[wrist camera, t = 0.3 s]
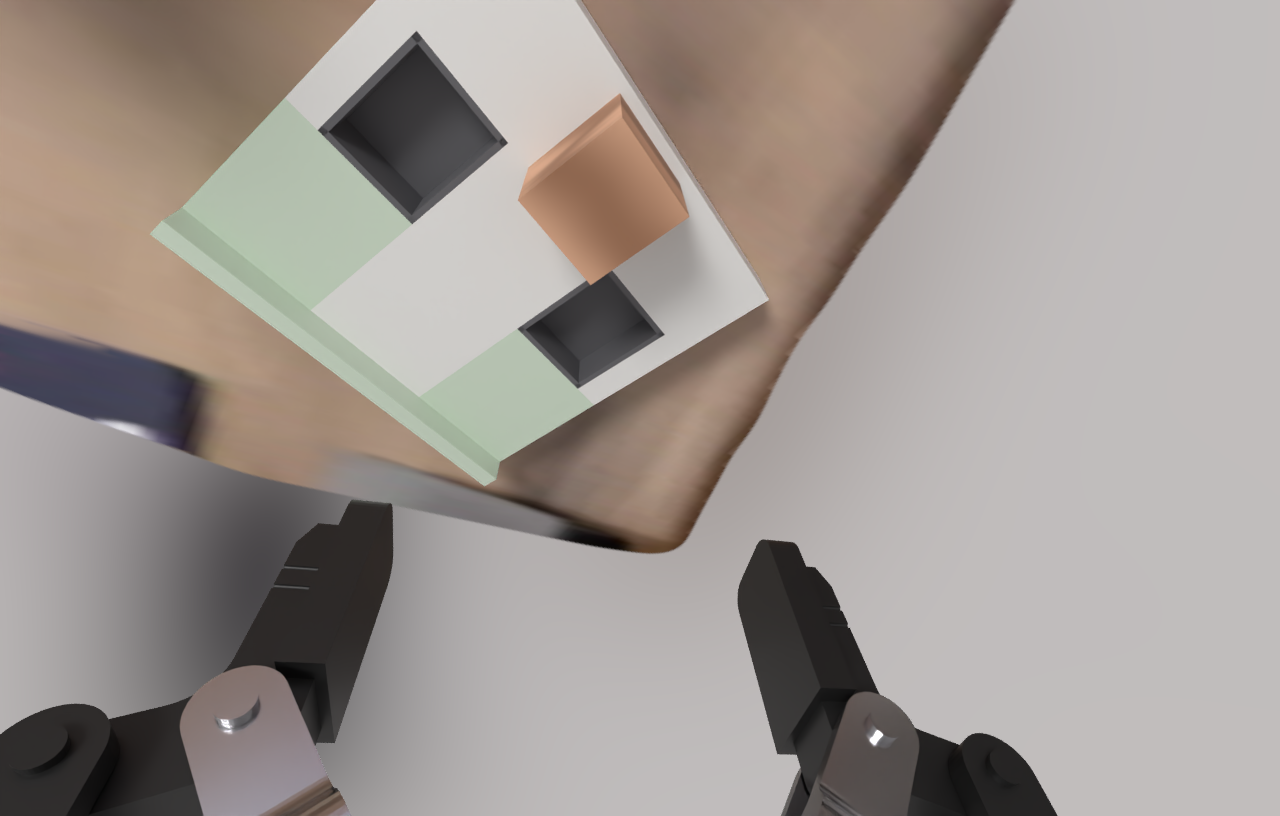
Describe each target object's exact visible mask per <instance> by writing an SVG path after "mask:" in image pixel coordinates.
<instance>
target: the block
mask: <svg viewBox="0 0 1280 816" xmlns="http://www.w3.org/2000/svg"><path fill="white" fill-rule="evenodd" d="M518 201H519V202H520V203H521V205H522V206H523V207H524V208H525V209H526V210H527V212H528V213H529V214H530V215H531V216H532V217H533V219H534V220H535V221H536V222H537V223H538V224H539V226H540V227H541V228H542V229H543V230H544V231H545V233H546V234H547V235H548V236H549V237H550V238H551V240H552V241H553V242H554V243H555V244H556V245H557V247H558V248H559V249H560V250H561V251H562V252H563V254H564V255H565V256H566V257H567V258H568V259H569V261H570V262H571V263H572V264H573V265H574V266H575V268H576V269H577V270H578V271H579V272H580V273H581V275H582V276H583V277H584V278H585V279H586V280H587V281H588V283H589V284H590V285H592V284H593V283H595V282H596V281H597V280H599V279H600V278H602V277H603V276H605V275H606V274H608V273H609V272H610V271H612V270H613V269H615V268H616V267H618V266H619V265H621V264H622V263H623V262H625V261H626V260H628V259H629V258H631V257H632V256H634V255H635V254H636V253H638V252H639V251H641V250H642V249H644V248H645V247H647V246H648V245H650V244H651V243H652V242H654V241H655V240H657V239H658V238H660V237H661V236H663V235H664V234H665V233H667V232H668V231H670V230H671V229H673V228H674V227H676V226H677V225H678V224H680V223H681V222H683V221H684V220H686V219H687V218H689V213H688V210H687V206H686V203H685V200H684V196H683V193H682V189H681V186H680V183H679V181H678V180H677V178H676V177H675V175H674V174H673V172H672V171H671V169H670V168H669V166H668V165H667V163H666V162H665V160H664V159H663V157H662V156H661V154H660V153H659V151H658V150H657V148H656V147H655V145H654V144H653V142H652V141H651V139H650V137H649V136H648V134H647V133H646V131H645V130H644V128H643V127H642V125H641V124H640V122H639V121H638V119H637V118H636V116H635V115H634V113H633V112H632V110H631V109H630V107H629V106H628V104H627V103H626V101H625V100H624V98H623V97H622V95H621V94H620V93H619V94H618V95H617V96H615V97H614V98H613V99H612V100H611V101H609V102H608V103H607V104H606V105H604V106H603V107H602V108H601V109H600V110H598V111H597V112H596V113H595V114H593V115H592V116H591V117H590V118H588V119H587V120H586V121H585V122H584V123H582V124H581V125H580V126H579V127H577V128H576V129H575V130H574V131H573V132H571V133H570V134H569V135H568V136H566V137H565V138H564V139H563V140H561V141H560V142H559V143H558V144H557V145H555V146H554V147H553V148H552V149H550V150H549V151H548V152H547V153H545V154H544V155H543V156H542V157H541V158H539V159H538V160H537V161H536V162H534V163H533V164H532V165H531V166H530V167H528V170H527V173H526V176H525V179H524V182H523V185H522V189H521V192H520V195H519V198H518Z"/></svg>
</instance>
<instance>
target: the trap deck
mask: <svg viewBox="0 0 1280 816" xmlns="http://www.w3.org/2000/svg"><path fill="white" fill-rule="evenodd" d="M619 93H620V94H621V95H622V97H623V98H624V100H625V101H626V103H627V104H628V106H629V107H630V109H631V110H632V112H633V113H634V115H635V116H636V118H637V119H638V121H639V122H640V124H641V125H642V127H643V128H644V130H645V131H646V133H647V134H648V136H649V137H650V139H651V141H652V142H653V144H654V145H655V147H656V148H657V150H658V151H659V153H660V154H661V156H662V157H663V159H664V160H665V162H666V163H667V165H668V166H669V168H670V169H671V171H672V172H673V174H674V175H675V177H676V178H677V180H678V181H679V183H680V186H681V189H682V193H683V196H684V200H685V203H686V206H687V210H688V213H689V218H687V219H686V220H684V221H683V222H681V223H680V224H678V225H677V226H676V227H674V228H673V229H671V230H670V231H668V232H667V233H665V234H664V235H663V236H661V237H660V238H658V239H657V240H655V241H654V242H652V243H651V244H650V245H648V246H647V247H645V248H644V249H642V250H641V251H639V252H638V253H636V254H635V255H634V256H632V257H631V258H629V259H628V260H626V261H625V262H623V263H622V264H621V265H619V266H618V267H616V268H615V269H613V270H612V271H610V272H609V273H608V274H606V275H605V276H603V277H602V278H600V279H599V280H597V281H596V282H595V283H593V284H592V285H590V284H589V283H588V281H587V280H586V279H585V278H584V277H583V276H582V275H581V273H580V272H579V271H578V270H577V269H576V268H575V266H574V265H573V264H572V263H571V262H570V261H569V259H568V258H567V257H566V256H565V255H564V254H563V252H562V251H561V250H560V249H559V248H558V247H557V245H556V244H555V243H554V242H553V241H552V240H551V238H550V237H549V236H548V235H547V234H546V233H545V231H544V230H543V229H542V228H541V227H540V226H539V224H538V223H537V222H536V221H535V220H534V219H533V217H532V216H531V215H530V214H529V213H528V212H527V210H526V209H525V208H524V207H523V206H522V205H521V203H520V202H519V201H518V198H519V195H520V192H521V189H522V185H523V182H524V179H525V176H526V173H527V170H528V167H530V166H531V165H532V164H533V163H534V162H536V161H537V160H538V159H539V158H541V157H542V156H543V155H544V154H545V153H547V152H548V151H549V150H550V149H552V148H553V147H554V146H555V145H557V144H558V143H559V142H560V141H561V140H563V139H564V138H565V137H566V136H568V135H569V134H570V133H571V132H573V131H574V130H575V129H576V128H577V127H579V126H580V125H581V124H582V123H584V122H585V121H586V120H587V119H588V118H590V117H591V116H592V115H593V114H595V113H596V112H597V111H598V110H600V109H601V108H602V107H603V106H604V105H606V104H607V103H608V102H609V101H611V100H612V99H613V98H614V97H615V96H617V95H618V94H619ZM150 235H152V236H153V237H154V238H156V239H157V240H158V241H160V242H161V243H162V244H164V245H165V246H166V247H168V248H169V249H170V250H172V251H173V252H174V253H176V254H177V255H178V256H180V257H181V258H182V259H184V260H185V261H186V262H188V263H189V264H190V265H191V266H193V267H194V268H195V269H197V270H198V271H199V272H201V273H202V274H203V275H205V276H206V277H207V278H209V279H210V280H211V281H213V282H214V283H215V284H217V285H218V286H219V287H221V288H222V289H223V290H225V291H226V292H227V293H229V294H230V295H231V296H233V297H234V298H235V299H237V300H238V301H239V302H241V303H242V304H243V305H245V306H246V307H247V308H249V309H250V310H251V311H253V312H254V313H255V314H257V315H258V316H259V317H261V318H262V319H263V320H265V321H266V322H267V323H268V324H270V325H271V326H272V327H274V328H275V329H276V330H278V331H279V332H280V333H282V334H283V335H284V336H286V337H287V338H288V339H290V340H291V341H292V342H294V343H295V344H296V345H298V346H299V347H300V348H302V349H303V350H304V351H306V352H307V353H308V354H310V355H311V356H312V357H314V358H315V359H316V360H318V361H319V362H320V363H322V364H323V365H324V366H326V367H327V368H328V369H330V370H331V371H332V372H334V373H335V374H336V375H338V376H339V377H340V378H342V379H343V380H344V381H345V382H347V383H348V384H349V385H351V386H352V387H353V388H355V389H356V390H357V391H359V392H360V393H361V394H363V395H364V396H365V397H367V398H368V399H369V400H371V401H372V402H373V403H375V404H376V405H377V406H379V407H380V408H381V409H383V410H384V411H385V412H387V413H388V414H389V415H391V416H392V417H393V418H395V419H396V420H397V421H399V422H400V423H401V424H403V425H404V426H405V427H407V428H408V429H409V430H411V431H412V432H413V433H415V434H416V435H417V436H419V437H420V438H421V439H422V440H424V441H425V442H426V443H428V444H429V445H430V446H432V447H433V448H434V449H436V450H437V451H438V452H440V453H441V454H442V455H444V456H445V457H446V458H448V459H449V460H450V461H452V462H453V463H454V464H456V465H457V466H458V467H460V468H461V469H462V470H464V471H465V472H466V473H468V474H469V475H470V476H472V477H473V478H474V479H476V480H477V481H478V482H480V483H481V484H482V485H484V486H486V485H487V484H489V483H491V482H492V481H494V480H496V479H497V474H498V469H499V464H500V461H502V460H504V459H505V458H507V457H509V456H510V455H512V454H514V453H515V452H517V451H519V450H520V449H522V448H524V447H525V446H527V445H529V444H530V443H532V442H534V441H535V440H537V439H539V438H540V437H542V436H544V435H545V434H547V433H549V432H550V431H552V430H554V429H555V428H557V427H559V426H560V425H562V424H564V423H565V422H567V421H569V420H570V419H572V418H574V417H575V416H577V415H578V414H580V413H582V412H583V411H585V410H587V409H588V408H590V407H592V406H593V405H595V404H597V403H598V402H600V401H602V400H603V399H605V398H607V397H608V396H610V395H612V394H613V393H615V392H617V391H618V390H620V389H622V388H623V387H625V386H627V385H628V384H630V383H632V382H633V381H635V380H637V379H638V378H640V377H642V376H643V375H645V374H647V373H648V372H650V371H652V370H653V369H655V368H657V367H658V366H660V365H662V364H663V363H665V362H667V361H668V360H670V359H672V358H673V357H675V356H677V355H678V354H680V353H682V352H683V351H685V350H687V349H688V348H690V347H691V346H693V345H695V344H696V343H698V342H700V341H701V340H703V339H705V338H706V337H708V336H710V335H711V334H713V333H715V332H716V331H718V330H720V329H721V328H723V327H725V326H726V325H728V324H730V323H731V322H733V321H735V320H736V319H738V318H740V317H741V316H743V315H745V314H746V313H748V312H750V311H751V310H753V309H755V308H756V307H758V306H760V305H761V304H763V303H765V302H766V301H768V300H769V299H768V297H767V294H766V292H765V290H764V288H763V285H762V283H761V281H760V278H759V277H758V275H757V273H756V272H755V270H754V269H753V267H752V266H751V264H750V263H749V261H748V259H747V258H746V256H745V255H744V253H743V252H742V250H741V249H740V247H739V245H738V244H737V242H736V241H735V239H734V238H733V236H732V235H731V233H730V231H729V230H728V228H727V227H726V225H725V224H724V222H723V220H722V219H721V217H720V216H719V214H718V213H717V211H716V210H715V208H714V206H713V205H712V203H711V202H710V200H709V199H708V197H707V196H706V194H705V192H704V191H703V189H702V188H701V186H700V185H699V183H698V181H697V180H696V178H695V177H694V175H693V174H692V172H691V171H690V169H689V167H688V166H687V164H686V163H685V161H684V160H683V158H682V157H681V155H680V153H679V152H678V150H677V149H676V147H675V146H674V144H673V142H672V141H671V139H670V138H669V136H668V135H667V133H666V132H665V130H664V128H663V127H662V125H661V124H660V122H659V121H658V119H657V118H656V116H655V114H654V113H653V111H652V110H651V108H650V107H649V105H648V103H647V102H646V100H645V99H644V97H643V96H642V94H641V93H640V91H639V89H638V88H637V86H636V85H635V83H634V82H633V80H632V79H631V77H630V75H629V74H628V72H627V71H626V69H625V68H624V66H623V65H622V63H621V61H620V60H619V58H618V57H617V55H616V54H615V52H614V50H613V49H612V47H611V46H610V44H609V43H608V41H607V40H606V38H605V36H604V35H603V33H602V32H601V30H600V29H599V27H598V26H597V24H596V22H595V21H594V19H593V18H592V16H591V15H590V13H589V11H588V10H587V8H586V7H585V5H584V4H583V2H582V1H581V0H376V1H375V2H374V3H373V4H372V5H371V6H370V7H369V9H368V10H367V11H366V12H365V13H364V14H363V15H362V16H361V17H360V18H359V19H358V20H357V21H356V22H355V23H354V25H353V26H352V27H351V28H350V29H349V30H348V31H347V32H346V33H345V34H344V35H343V36H342V37H341V38H340V39H339V41H338V42H337V43H336V44H335V45H334V46H333V47H332V48H331V49H330V50H329V51H328V52H327V53H326V54H325V55H324V57H323V58H322V59H321V60H320V61H319V62H318V63H317V64H316V65H315V66H314V67H313V68H312V69H311V70H310V71H309V73H308V74H307V75H306V76H305V77H304V78H303V79H302V80H301V81H300V82H299V83H298V84H297V85H296V86H295V87H294V89H293V90H292V91H291V92H290V93H289V94H288V95H287V96H286V97H285V98H284V99H283V100H282V101H281V102H280V103H279V105H278V106H277V107H276V108H275V109H274V110H273V111H272V112H271V113H270V114H269V115H268V116H267V117H266V118H265V120H264V121H263V122H262V123H261V124H260V125H259V126H258V127H257V128H256V129H255V130H254V131H253V132H252V133H251V134H250V136H249V137H248V138H247V139H246V140H245V141H244V142H243V143H242V144H241V145H240V146H239V147H238V148H237V149H236V150H235V152H234V153H233V154H232V155H231V156H230V157H229V158H228V159H227V160H226V161H225V162H224V163H223V164H222V165H221V166H220V168H219V169H218V170H217V171H216V172H215V173H214V174H213V175H212V176H211V177H210V178H209V179H208V180H207V181H206V182H205V184H204V185H203V186H202V187H201V188H200V189H199V190H198V191H197V192H196V193H195V194H194V195H193V196H192V197H191V198H190V200H189V201H188V202H187V203H186V204H185V205H184V206H183V207H182V208H181V209H179V210H178V211H176V212H175V213H173V214H171V215H170V216H168V217H167V218H165V219H164V220H162V221H161V222H160V224H159V225H158V226H157V227H156V228H155V229H154V230H153V231H152V232H151V233H150Z"/></svg>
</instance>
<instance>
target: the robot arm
mask: <svg viewBox="0 0 1280 816" xmlns="http://www.w3.org/2000/svg"><path fill="white" fill-rule="evenodd" d="M392 512H393V511H392V504H391V503H382V502H371V501H361V500H352V501H351V502H350V503H349V505H348V506H347V509H346V511H345V513H344V515H343V517H342V519H341V521H340V523H339V525H331V524H319V523H318V524H317V525H316V526H315V527H314V528H312V529H311V530H310V531H309V532H308V533H307V534H305V535H304V536H303V537H302V538H301V539H300V540H298V541H297V542H296V544H295V546H294V548H293V549H292V551H291V553H290V555H289V557H288V559H287V561H286V562H285V564H284V569H282V570H281V572H280V574H279V576H278V577H277V579H276V581H275V583H274V587H273V588H272V589H271V590H270V592H269V594H268V596H267V598H266V600H265V602H264V603H263V605H262V607H261V609H260V611H259V613H258V614H257V616H256V618H255V620H254V622H253V624H252V626H251V628H250V630H249V631H248V633H247V635H246V637H245V639H244V640H243V643H242V645H241V646H240V648H239V650H238V652H237V653H236V655H235V657H234V659H233V661H232V662H231V664H230V665H229V666H228V668H227V669H226V670H225V671H224V672H223V673H222V674H220V675H219V676H217V677H215V678H213V679H212V680H210V681H209V682H207V683H206V684H205V685H203V686H202V687H201V688H200V689H199V690H198V691H197V692H196V693H195V694H194V695H192V696H191V697H189V698H186V699H184V700H181V701H179V702H176V703H173V704H170V705H166V706H162V707H158V708H154V709H150V710H146V711H141V712H137V713H133V714H129V715H125V716H120V717H116V718H112V719H108V718H107V716H106V715H105V713H103V712H102V711H101V710H100V709H98V708H96V707H94V706H90V705H86V704H67V705H61V706H56V707H52V708H49V709H46V710H43V711H40V712H38V713H35V714H33V715H31V716H29V717H27V718H25V719H23V720H21V721H19V722H18V723H16V724H14V725H13V726H11V727H10V728H8V729H7V730H5V731H4V732H3V733H2V734H0V816H351V815H350V812H349V810H348V808H347V806H346V804H345V801H344V799H343V797H342V796H341V794H340V792H339V791H338V789H337V788H334V787H333V786H332V784H331V782H330V780H329V778H328V776H327V773H326V771H325V769H324V766H323V764H322V762H321V759H320V757H319V755H318V752H317V750H316V748H315V745H316V743H335V741H336V737H337V735H338V732H339V729H340V726H341V723H342V720H343V717H344V714H345V710H346V708H347V705H348V702H349V699H350V696H351V693H352V690H353V687H354V683H355V681H356V678H357V675H358V672H359V669H360V666H361V663H362V660H363V657H364V654H365V651H366V648H367V645H368V642H369V639H370V636H371V634H372V630H373V628H374V625H375V622H376V618H377V616H378V613H379V610H380V607H381V604H382V601H383V597H384V595H385V592H386V589H387V586H388V582H389V579H390V574H391V569H392V563H393V513H392ZM738 609H739V613H740V617H741V621H742V625H743V628H744V632H745V636H746V639H747V643H748V647H749V650H750V654H751V658H752V662H753V665H754V669H755V673H756V676H757V680H758V684H759V687H760V691H761V695H762V699H763V702H764V706H765V710H766V714H767V717H768V721H769V725H770V728H771V732H772V736H773V739H774V743H775V747H776V751H777V754H795V755H797V757H798V760H799V763H800V767H801V768H800V769H799V771H798V773H797V775H796V777H795V780H794V782H793V785H792V787H791V790H790V793H789V796H788V798H787V801H786V804H785V806H784V809H783V812H782V814H781V816H1057V814H1056V812H1055V810H1054V808H1053V807H1052V805H1051V803H1050V801H1049V799H1048V798H1047V796H1046V794H1045V792H1044V790H1043V789H1042V787H1041V785H1040V783H1039V781H1038V780H1037V778H1036V776H1035V774H1034V773H1033V771H1032V769H1031V768H1030V766H1029V765H1028V764H1027V762H1026V761H1025V760H1024V759H1023V758H1022V757H1021V756H1020V755H1019V754H1018V753H1017V752H1016V751H1015V750H1014V749H1013V748H1012V747H1010V746H1009V745H1008V744H1006V743H1004V742H1003V741H1002V740H1000V739H998V738H996V737H994V736H991V735H988V734H983V733H975V734H972V735H970V736H968V737H967V738H966V739H965V740H964V741H963V742H962V743H961V744H960V745H958V744H956V743H952V742H950V741H947V740H945V739H942V738H939V737H937V736H934V735H931V734H929V733H926V732H923V731H920V730H919V729H916V728H915V727H914V725H913V724H912V722H911V721H910V719H909V718H908V716H907V715H906V714H905V713H904V712H903V710H901V708H899V707H898V706H897V705H896V704H895V703H893V702H892V701H891V700H889V699H887V698H886V697H884V696H882V695H880V694H879V692H878V690H877V688H876V686H875V684H874V682H873V679H872V677H871V675H870V672H869V670H868V668H867V666H866V663H865V661H864V659H863V657H862V654H861V652H860V650H859V648H858V645H857V643H856V641H855V639H854V636H853V634H852V632H851V630H850V628H848V626H847V625H848V623H847V621H846V618H845V616H844V614H843V612H842V611H840V605H839V603H838V600H837V598H836V596H835V594H834V591H833V589H832V587H831V586H830V584H829V583H828V582H827V581H826V580H825V578H824V577H823V576H822V575H821V574H820V573H819V571H818V570H817V569H816V568H815V567H806V565H805V563H804V560H803V558H802V556H801V553H800V551H799V548H798V546H797V545H796V544H795V543H793V542H784V541H773V540H761V541H759V543H758V544H757V546H756V549H755V551H754V553H753V555H752V557H751V560H750V562H749V564H748V566H747V568H746V571H745V573H744V575H743V577H742V580H741V582H740V585H739V589H738Z"/></svg>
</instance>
